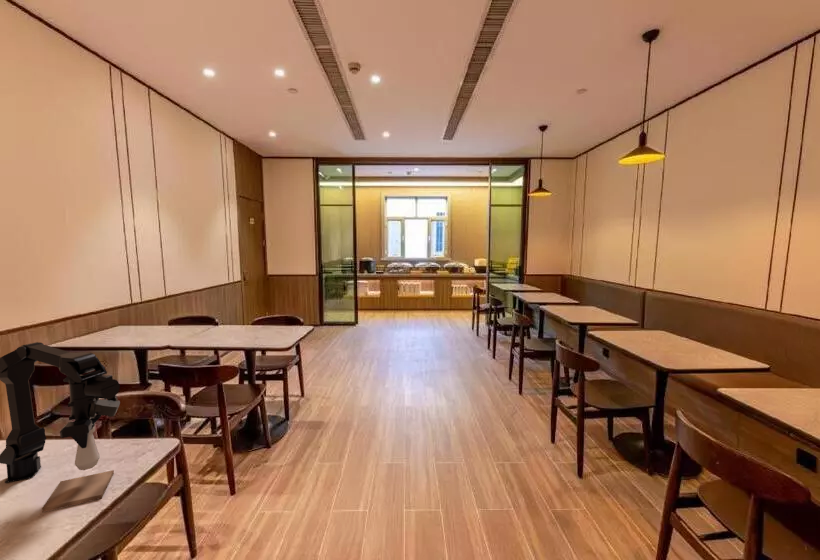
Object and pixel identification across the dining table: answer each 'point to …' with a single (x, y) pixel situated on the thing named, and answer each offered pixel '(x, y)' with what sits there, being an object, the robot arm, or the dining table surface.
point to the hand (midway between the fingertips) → (86, 444)
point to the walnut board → (78, 490)
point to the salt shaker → (87, 454)
